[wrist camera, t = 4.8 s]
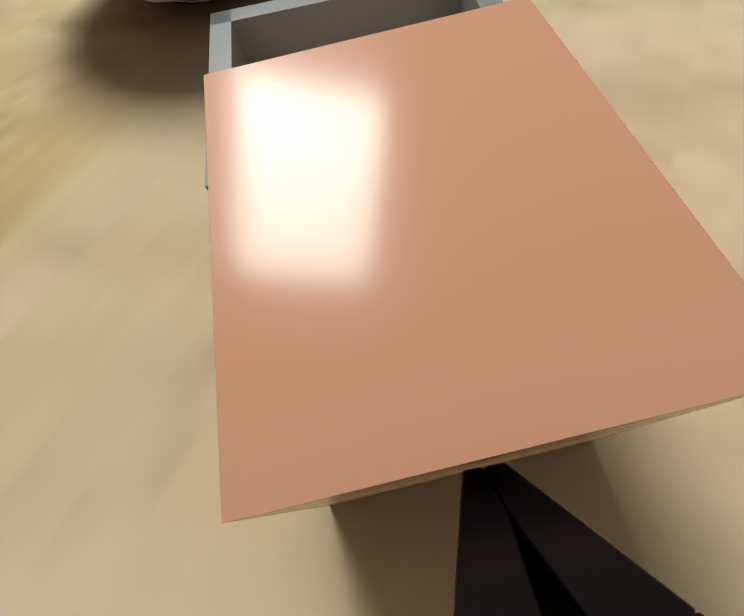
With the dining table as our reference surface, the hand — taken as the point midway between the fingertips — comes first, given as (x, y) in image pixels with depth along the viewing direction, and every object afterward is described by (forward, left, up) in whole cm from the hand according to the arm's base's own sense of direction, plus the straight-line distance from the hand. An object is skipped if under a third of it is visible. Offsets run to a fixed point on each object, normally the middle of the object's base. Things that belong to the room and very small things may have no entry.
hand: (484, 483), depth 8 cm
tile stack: (+6, 0, -7) cm, 10 cm away
